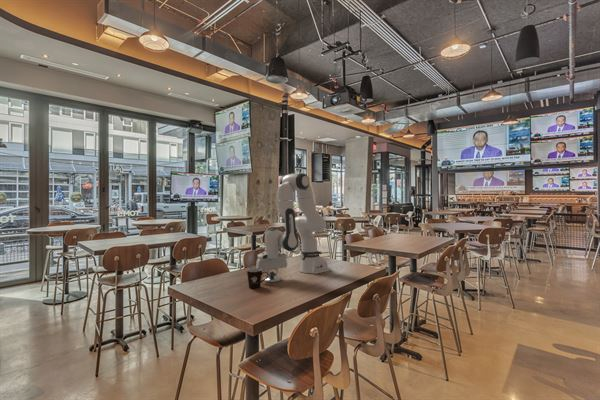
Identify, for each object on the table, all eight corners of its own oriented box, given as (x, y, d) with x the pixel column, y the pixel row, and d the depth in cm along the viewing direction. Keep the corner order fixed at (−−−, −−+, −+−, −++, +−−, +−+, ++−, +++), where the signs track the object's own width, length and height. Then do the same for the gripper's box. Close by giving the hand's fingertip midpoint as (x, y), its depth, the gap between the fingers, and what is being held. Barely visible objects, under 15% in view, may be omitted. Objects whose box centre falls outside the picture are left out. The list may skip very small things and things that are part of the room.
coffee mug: (244, 288, 172) (244, 271, 171) (251, 284, 180) (251, 267, 180) (262, 290, 168) (262, 272, 168) (269, 286, 176) (269, 269, 176)
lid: (276, 276, 198) (276, 268, 198) (284, 280, 187) (284, 272, 187) (259, 278, 192) (259, 271, 192) (266, 283, 181) (266, 275, 181)
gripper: (284, 252, 197) (284, 272, 197) (254, 255, 187) (255, 277, 187) (288, 253, 192) (288, 275, 192) (258, 257, 182) (258, 279, 182)
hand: (272, 276), depth 189 cm, fingers closed on lid, 3 cm apart
